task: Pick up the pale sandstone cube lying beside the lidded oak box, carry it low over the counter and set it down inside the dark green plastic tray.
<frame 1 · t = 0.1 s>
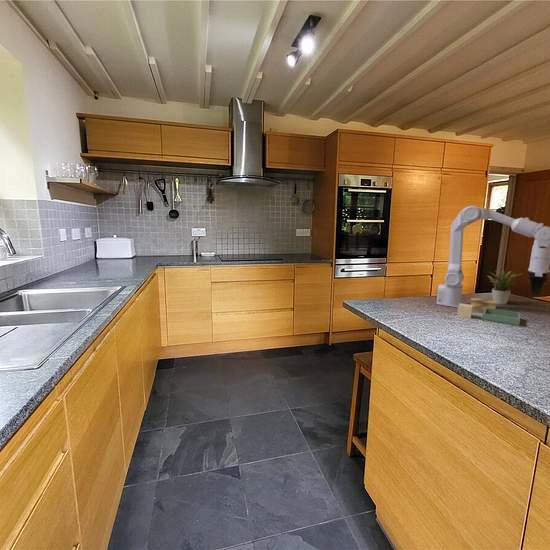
hand: (534, 292, 116), 10 cm above the worktop, tool pointing down, fingers open, 7 cm apart
house plant: (502, 303, 140), on the worktop
tray: (500, 319, 115), on the worktop
sandstone cube: (464, 316, 119), on the worktop
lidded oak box: (482, 311, 126), on the worktop
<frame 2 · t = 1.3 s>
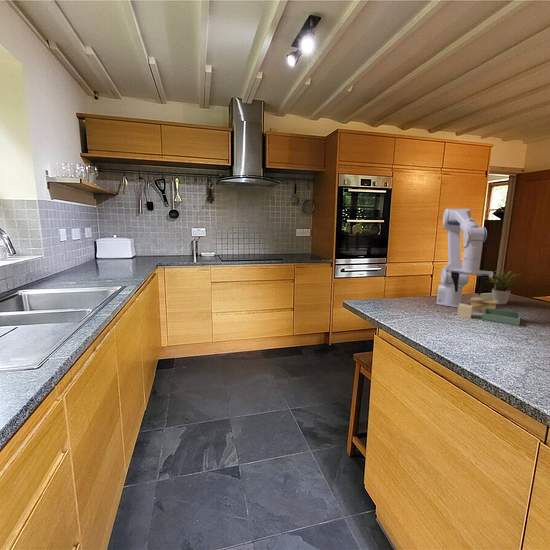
hand: (467, 292, 117), 9 cm above the worktop, tool pointing down, fingers open, 7 cm apart
nothing on the worktop moved.
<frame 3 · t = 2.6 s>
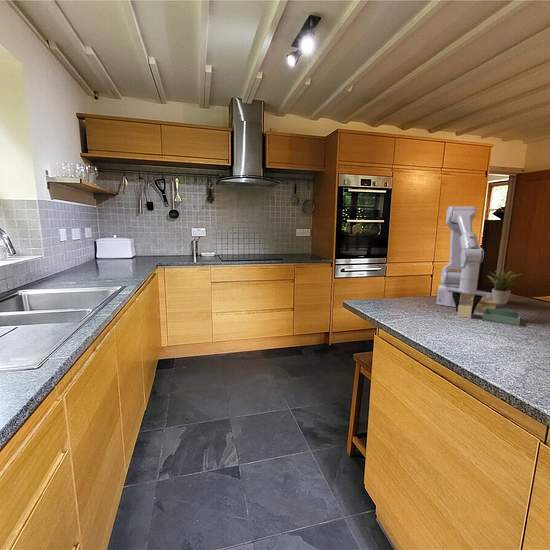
hand: (464, 312, 118), 1 cm above the worktop, tool pointing down, fingers closed on sandstone cube, 4 cm apart
sandstone cube: (464, 315, 119), on the worktop, touching gripper
everything else where it was.
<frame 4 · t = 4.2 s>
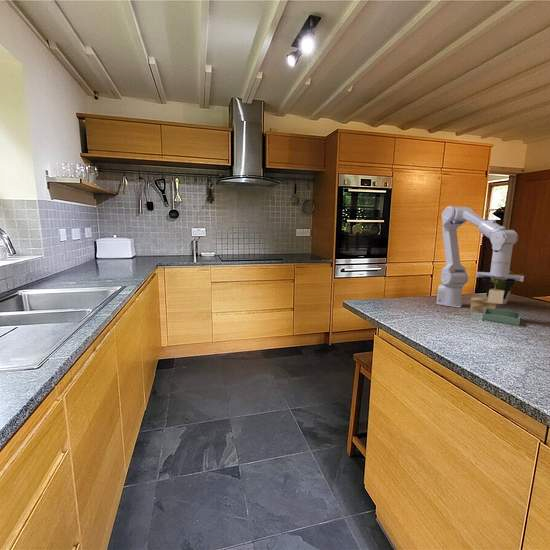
hand: (496, 297, 114), 8 cm above the worktop, tool pointing down, fingers closed on sandstone cube, 4 cm apart
sandstone cube: (495, 301, 114), point 7 cm above the worktop, touching gripper
everything else where it was.
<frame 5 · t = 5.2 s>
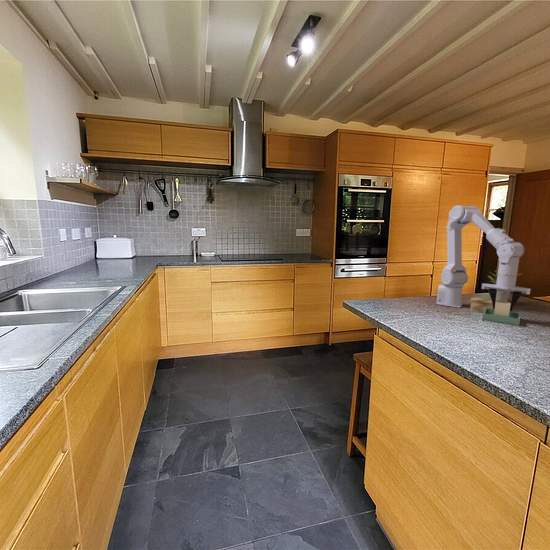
hand: (502, 309, 114), 4 cm above the worktop, tool pointing down, fingers closed on sandstone cube, 4 cm apart
sandstone cube: (501, 313, 114), point 2 cm above the worktop, touching gripper
everything else where it was.
when the fingers open (3 cm above the worktop, at t = 5.8 s): sandstone cube drops 1 cm, resting on tray.
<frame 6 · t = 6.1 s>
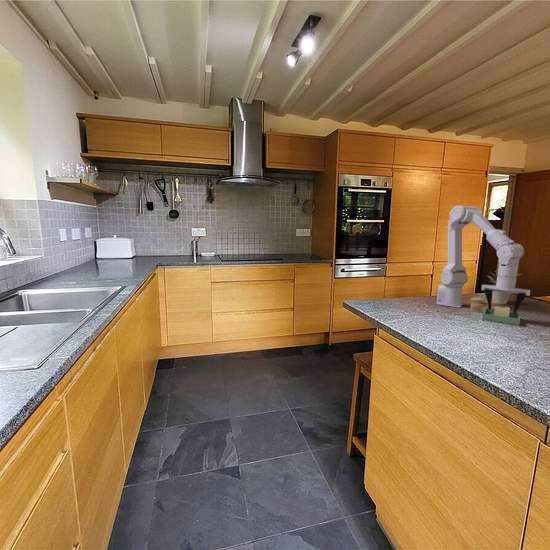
hand: (501, 310, 114), 3 cm above the worktop, tool pointing down, fingers open, 7 cm apart
sandstone cube: (500, 318, 114), resting on tray
everything else where it was.
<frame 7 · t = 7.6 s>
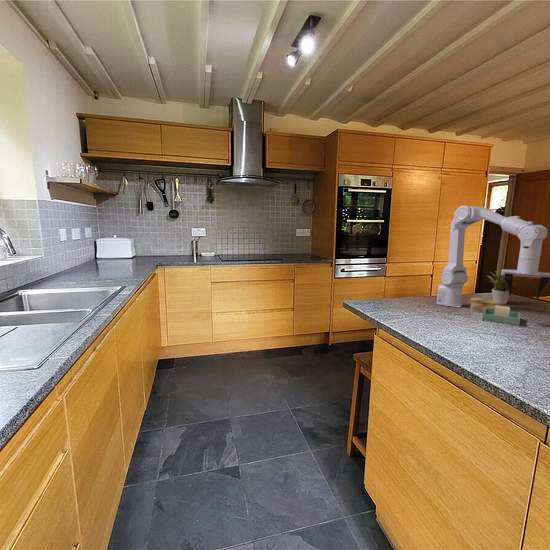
hand: (523, 296, 108), 10 cm above the worktop, tool pointing down, fingers open, 7 cm apart
nothing on the worktop moved.
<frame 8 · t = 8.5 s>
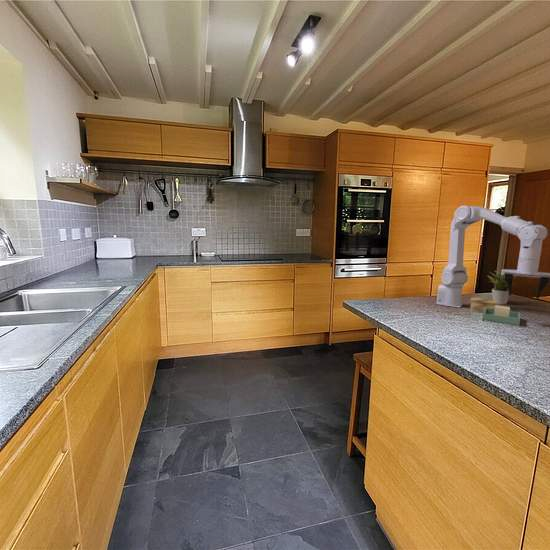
hand: (523, 296, 108), 10 cm above the worktop, tool pointing down, fingers open, 7 cm apart
nothing on the worktop moved.
at the end: sandstone cube inside the target area on the tray (0.2 cm from its centre), point 0.4 cm above the tray's base; the gripper is holding nothing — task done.
